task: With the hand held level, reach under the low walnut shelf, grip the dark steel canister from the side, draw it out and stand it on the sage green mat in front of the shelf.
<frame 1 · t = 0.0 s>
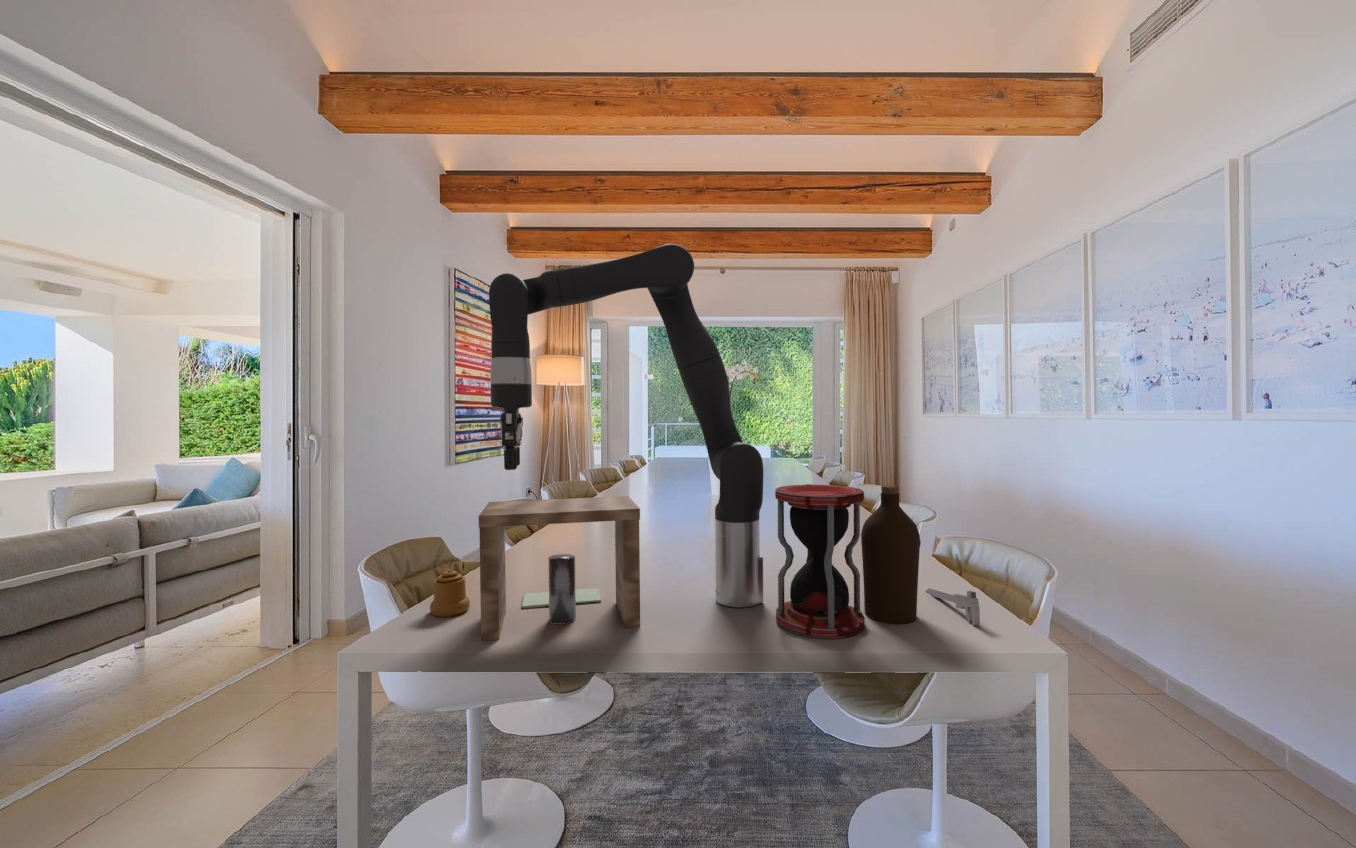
hand: (512, 467, 106), 29 cm above the table, tool pointing down, fingers open, 8 cm apart
hourglass: (819, 623, 104), on the table
olive oil: (890, 616, 107), on the table
shelf: (562, 619, 106), on the table
canister: (562, 619, 106), on the table
caliper: (950, 609, 111), on the table
ornamental finial: (450, 612, 111), on the table
mat: (561, 599, 118), on the table
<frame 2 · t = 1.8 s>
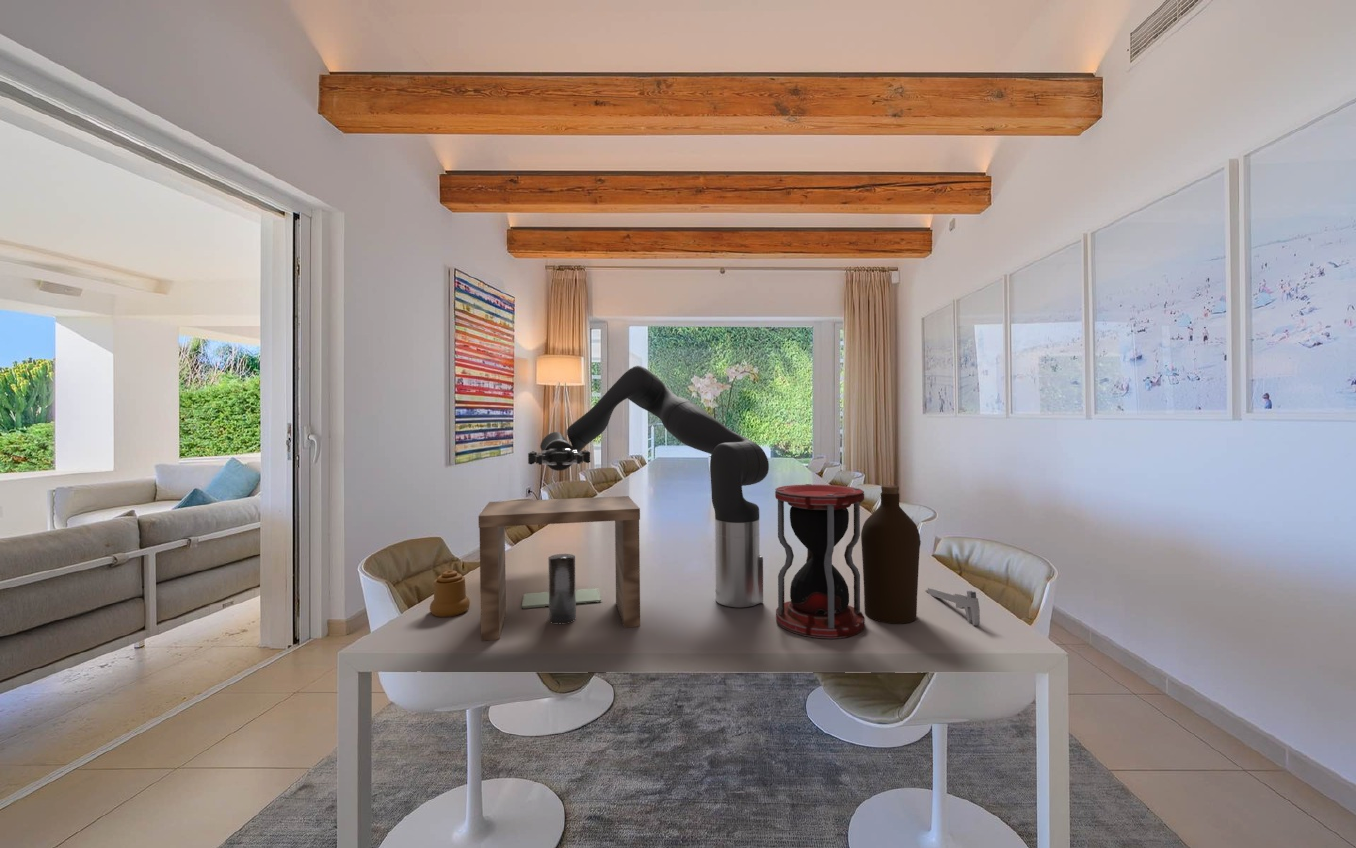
hand: (559, 459, 125), 29 cm above the table, tool horizontal, fingers open, 8 cm apart
nothing on the table moved.
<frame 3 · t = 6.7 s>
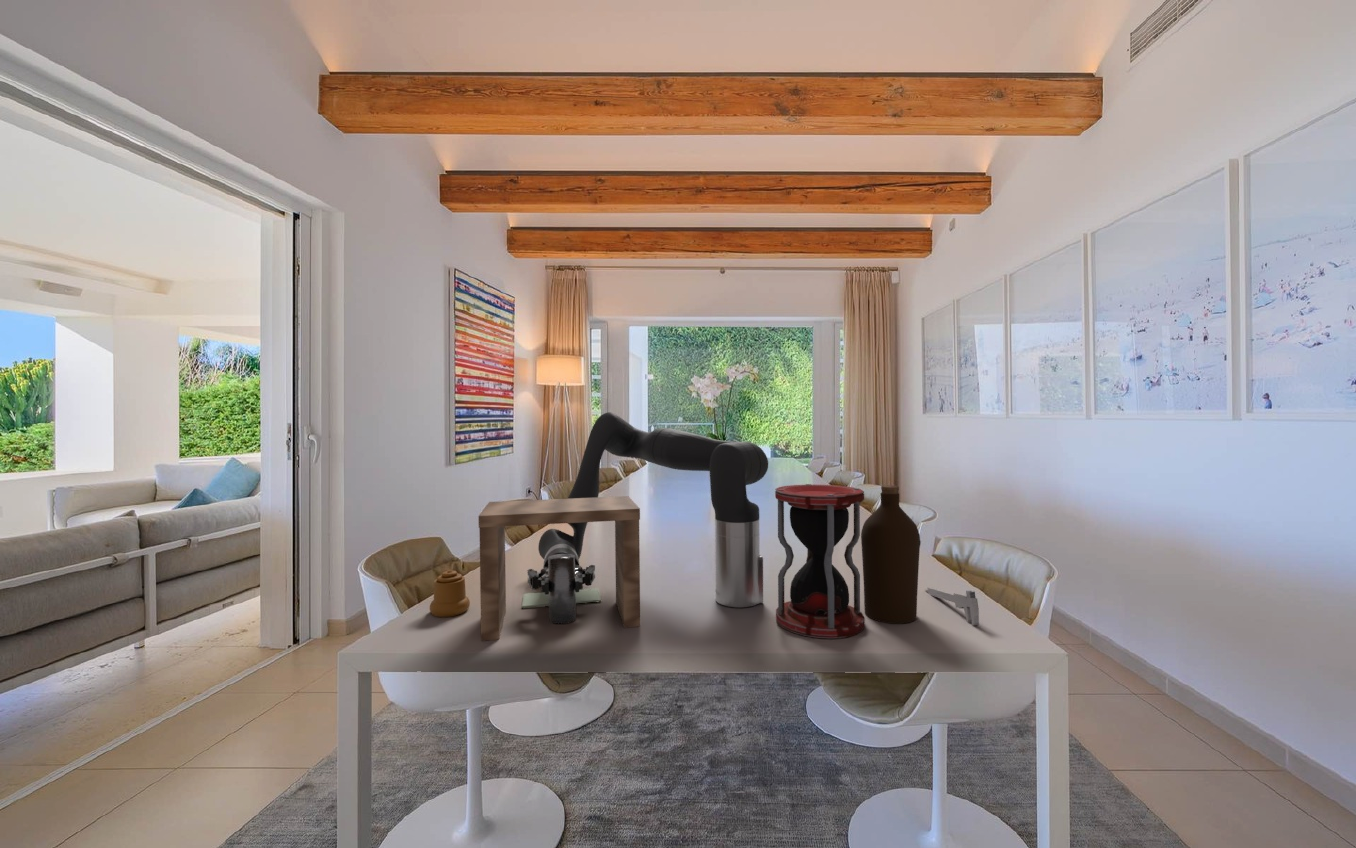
hand: (562, 588, 104), 7 cm above the table, tool horizontal, fingers closed on canister, 5 cm apart
canister: (562, 619, 106), on the table, touching gripper
everything else where it was.
when the fingers open (9 cm above the table, at t = 10.5 s): canister drops 1 cm, resting on mat.
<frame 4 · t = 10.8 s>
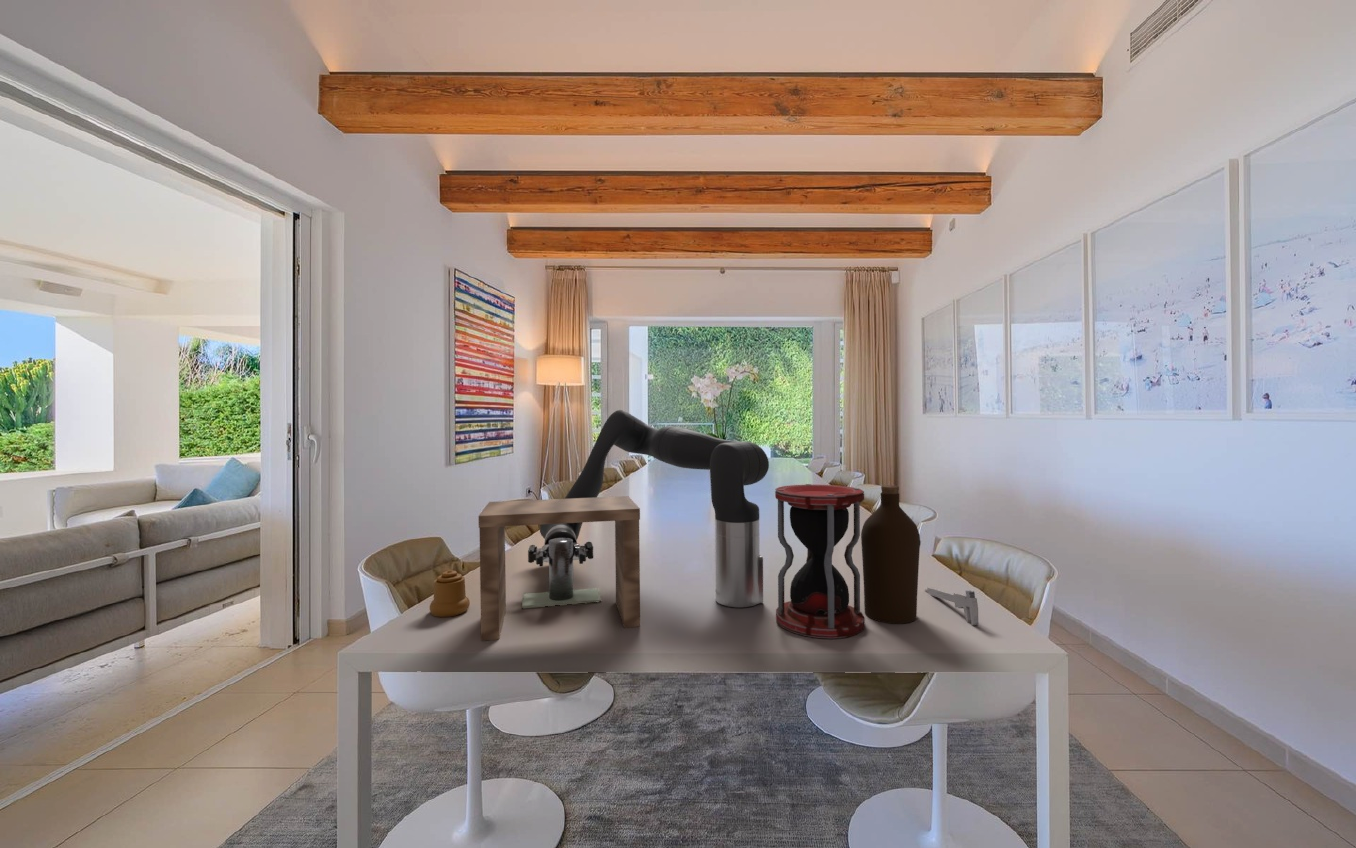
hand: (561, 560, 116), 9 cm above the table, tool horizontal, fingers open, 8 cm apart
canister: (561, 596, 118), point 1 cm above the table, touching mat
everything else where it was.
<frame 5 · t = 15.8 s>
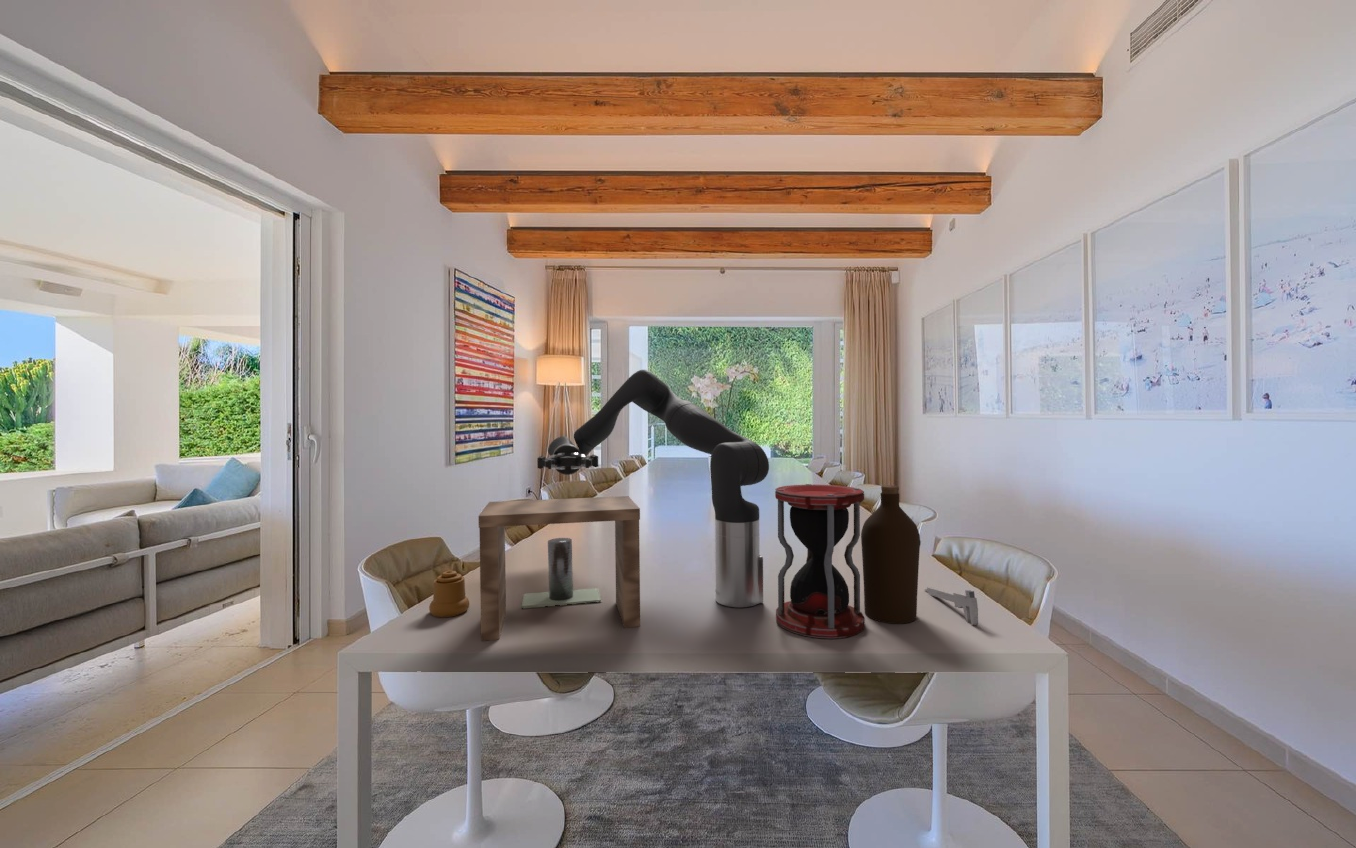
hand: (568, 464, 127), 28 cm above the table, tool horizontal, fingers open, 8 cm apart
nothing on the table moved.
at the end: canister inside the target area (2.2 cm from its centre), point 0.5 cm above the table; canister tilted 1°; the gripper is holding nothing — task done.
